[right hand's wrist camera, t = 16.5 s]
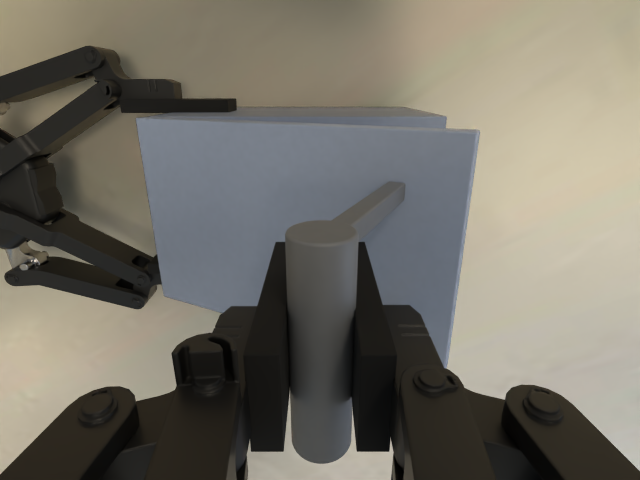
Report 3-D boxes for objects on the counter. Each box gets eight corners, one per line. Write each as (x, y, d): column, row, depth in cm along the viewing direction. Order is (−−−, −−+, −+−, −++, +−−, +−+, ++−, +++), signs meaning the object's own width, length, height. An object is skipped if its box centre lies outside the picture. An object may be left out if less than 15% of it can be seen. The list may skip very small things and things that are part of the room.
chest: (405, 107, 31) (447, 116, 21) (396, 229, 35) (428, 288, 25) (204, 107, 31) (147, 116, 21) (216, 229, 35) (173, 288, 25)
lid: (480, 129, 14) (434, 172, 7) (447, 363, 18) (394, 548, 11) (151, 116, 21) (-46, 131, 14) (176, 289, 24) (31, 372, 17)
